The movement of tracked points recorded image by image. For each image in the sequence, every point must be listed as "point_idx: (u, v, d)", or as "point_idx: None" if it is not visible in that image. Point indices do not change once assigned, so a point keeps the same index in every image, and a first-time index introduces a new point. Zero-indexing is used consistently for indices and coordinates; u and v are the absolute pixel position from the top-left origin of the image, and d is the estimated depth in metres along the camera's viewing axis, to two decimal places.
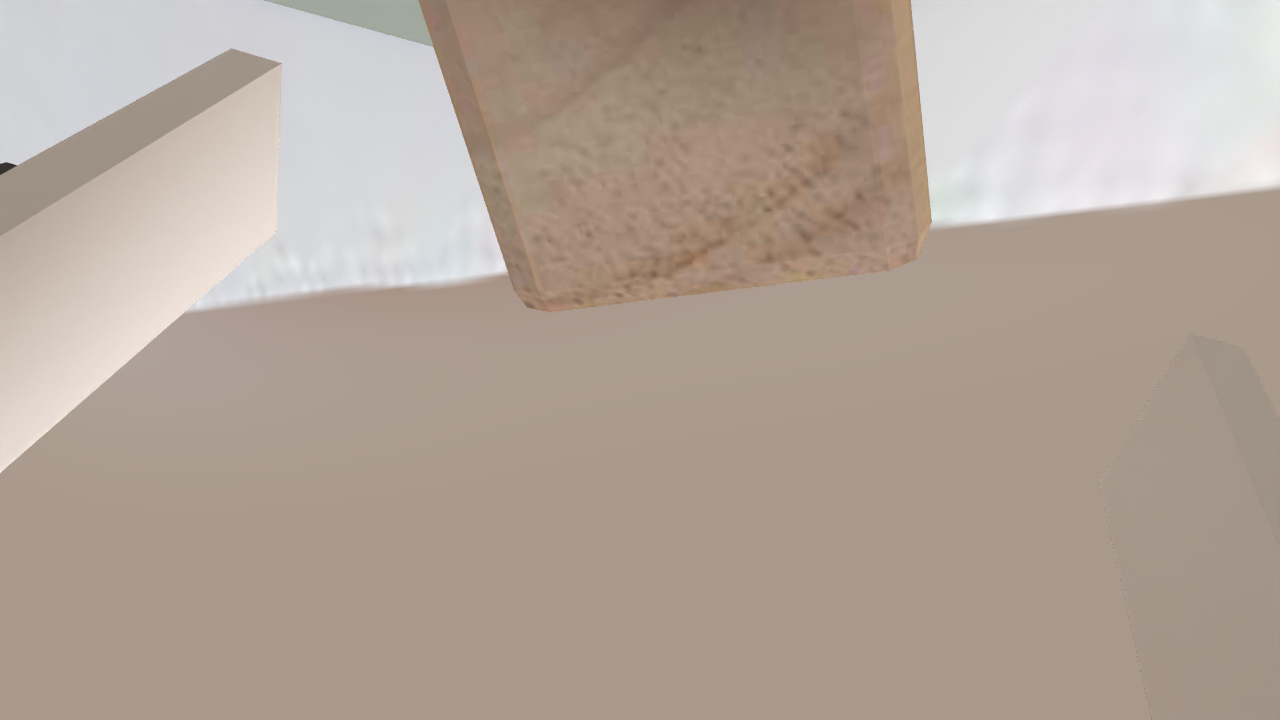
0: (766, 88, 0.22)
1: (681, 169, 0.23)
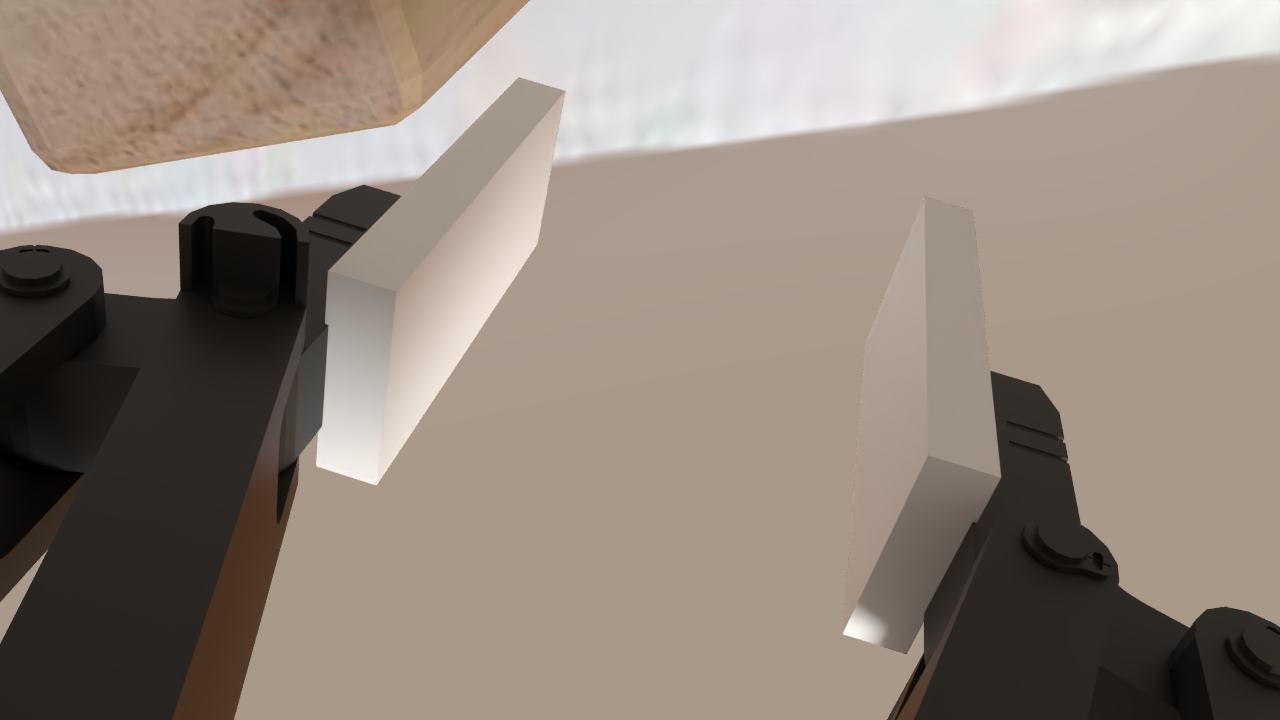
0: None
1: (149, 10, 0.22)
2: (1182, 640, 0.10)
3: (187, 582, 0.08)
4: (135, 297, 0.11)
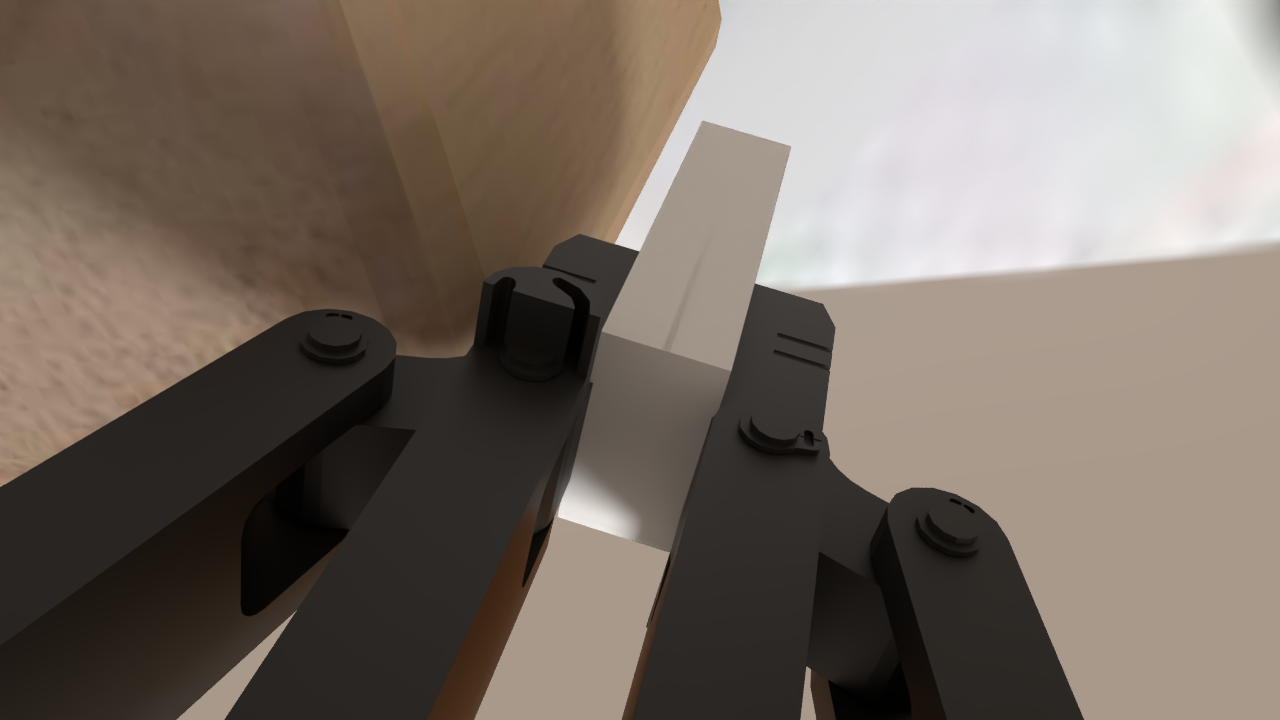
0: (189, 186, 0.13)
1: (100, 301, 0.14)
2: (878, 527, 0.10)
3: (432, 644, 0.08)
4: (410, 357, 0.11)
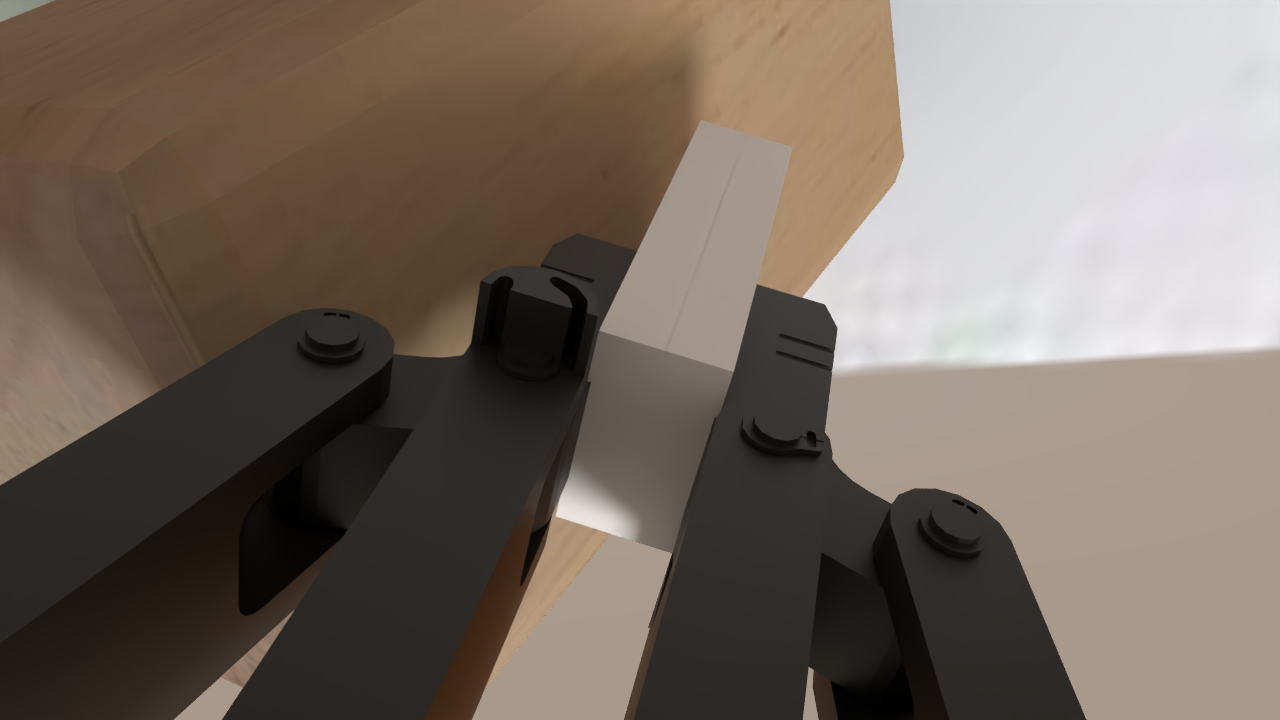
0: None
1: None
2: (881, 528, 0.10)
3: (431, 642, 0.08)
4: (408, 356, 0.11)
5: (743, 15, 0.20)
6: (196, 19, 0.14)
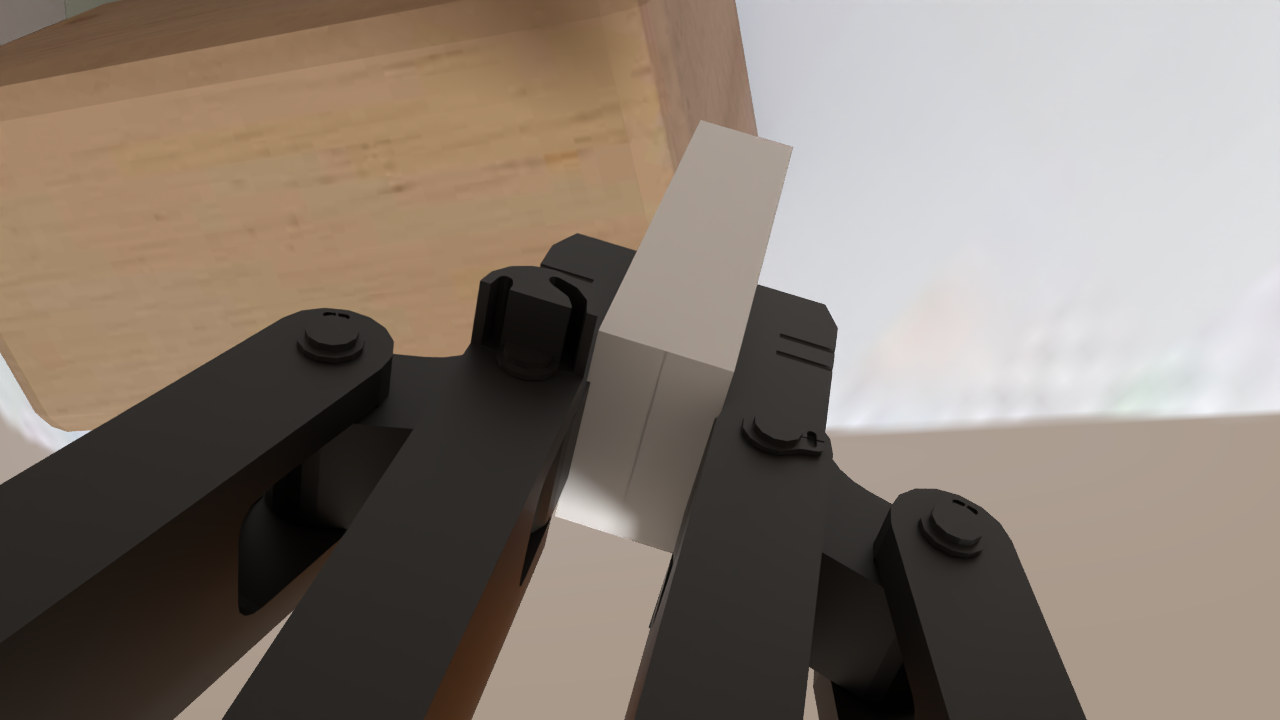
0: None
1: None
2: (881, 528, 0.10)
3: (430, 644, 0.08)
4: (407, 356, 0.11)
5: (330, 162, 0.24)
6: (49, 43, 0.27)
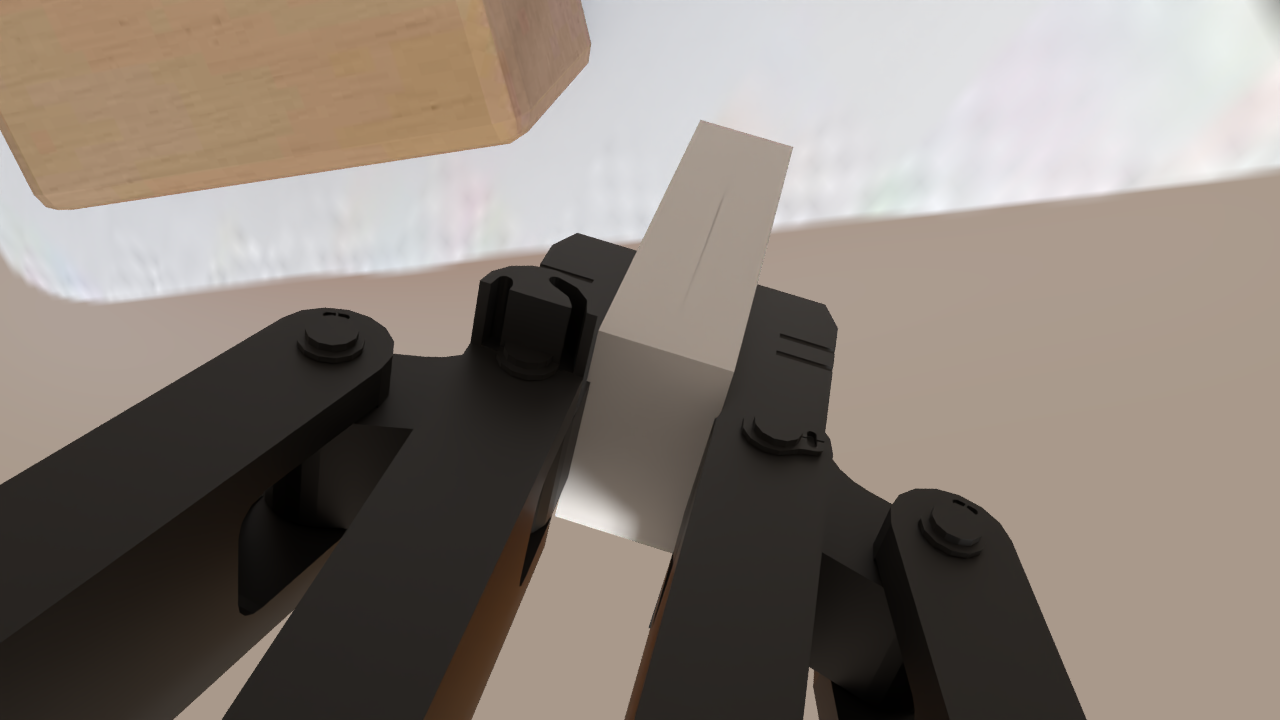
0: None
1: None
2: (881, 528, 0.10)
3: (431, 644, 0.08)
4: (407, 356, 0.11)
5: None
6: None
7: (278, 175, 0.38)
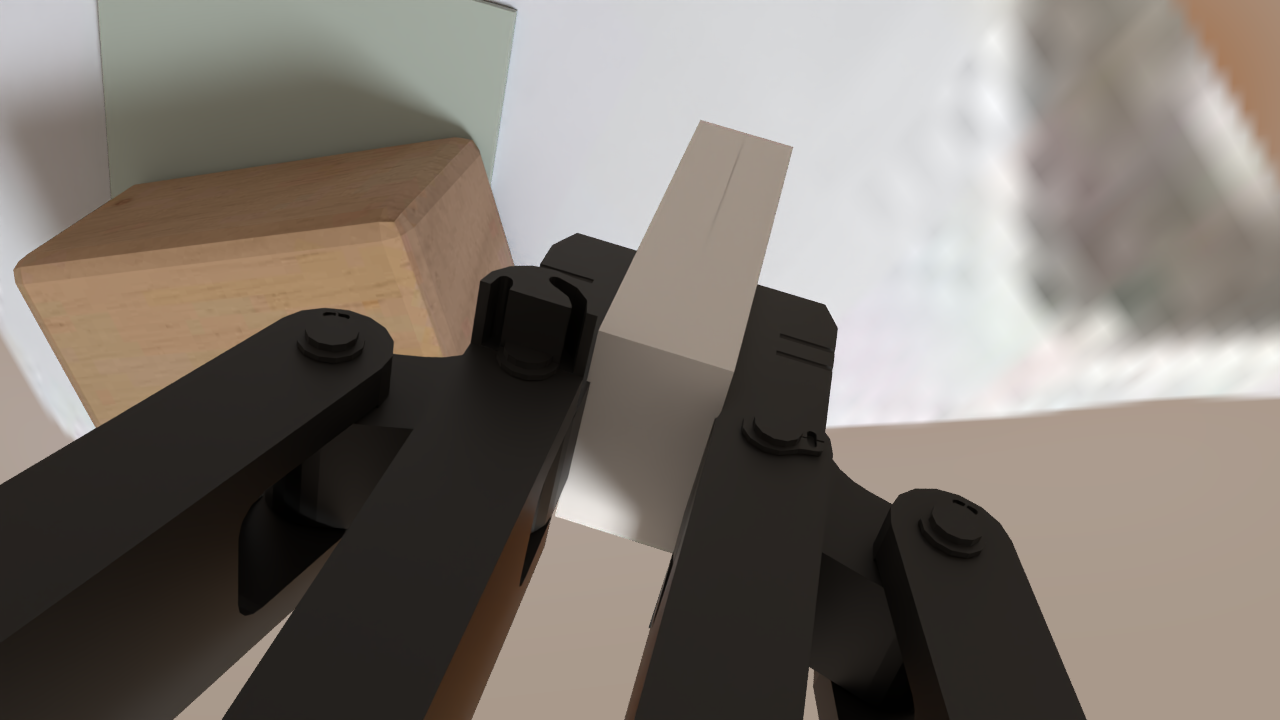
0: None
1: None
2: (881, 528, 0.10)
3: (430, 644, 0.08)
4: (407, 356, 0.11)
5: (256, 302, 0.46)
6: (107, 227, 0.50)
7: None
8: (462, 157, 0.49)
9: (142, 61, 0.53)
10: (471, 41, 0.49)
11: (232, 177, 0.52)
